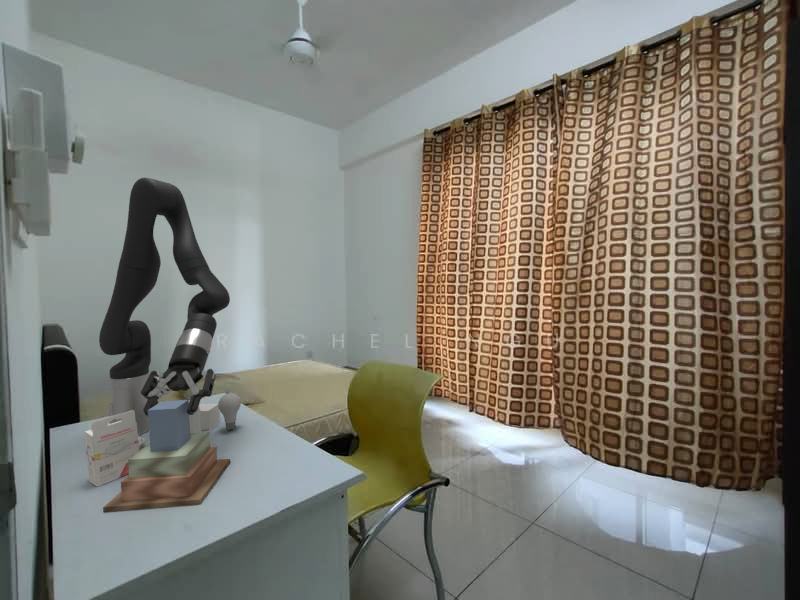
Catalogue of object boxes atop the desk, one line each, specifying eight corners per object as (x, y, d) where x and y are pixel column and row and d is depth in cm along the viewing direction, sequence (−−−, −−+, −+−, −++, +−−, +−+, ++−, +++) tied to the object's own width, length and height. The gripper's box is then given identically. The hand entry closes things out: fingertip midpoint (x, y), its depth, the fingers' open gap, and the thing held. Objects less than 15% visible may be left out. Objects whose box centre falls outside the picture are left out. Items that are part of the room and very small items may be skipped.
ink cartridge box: (132, 463, 86) (127, 405, 86) (141, 469, 84) (137, 409, 83) (87, 481, 79) (82, 417, 78) (95, 488, 77) (90, 422, 76)
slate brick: (150, 452, 74) (147, 410, 73) (164, 440, 79) (162, 401, 78) (178, 450, 74) (175, 408, 74) (190, 438, 80) (188, 399, 79)
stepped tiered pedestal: (103, 512, 68) (100, 467, 68) (152, 468, 84) (149, 431, 84) (200, 504, 70) (198, 460, 70) (230, 462, 86) (228, 426, 86)
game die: (144, 444, 97) (143, 434, 96) (145, 449, 94) (144, 438, 94) (128, 449, 94) (127, 438, 94) (128, 454, 92) (128, 442, 91)
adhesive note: (189, 430, 105) (188, 411, 105) (201, 422, 111) (200, 403, 111) (209, 430, 105) (208, 410, 105) (220, 422, 111) (219, 403, 111)
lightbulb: (216, 430, 105) (214, 394, 104) (237, 423, 110) (235, 389, 109) (224, 436, 101) (222, 398, 100) (245, 429, 105) (243, 393, 105)
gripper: (154, 343, 83) (124, 408, 73) (217, 342, 85) (197, 405, 74) (168, 360, 89) (142, 423, 78) (226, 358, 90) (209, 419, 80)
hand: (169, 414), depth 76 cm, fingers open, 8 cm apart
